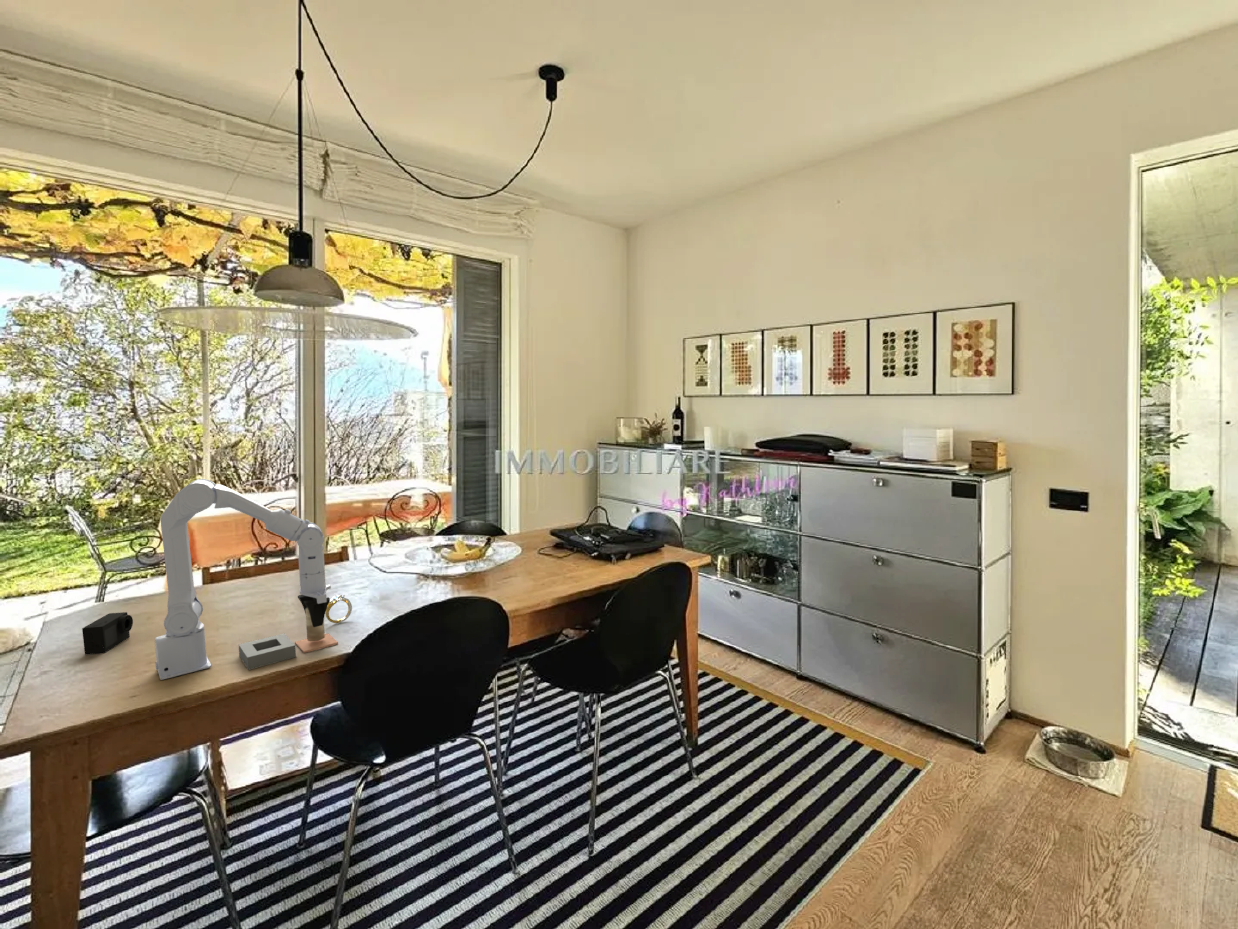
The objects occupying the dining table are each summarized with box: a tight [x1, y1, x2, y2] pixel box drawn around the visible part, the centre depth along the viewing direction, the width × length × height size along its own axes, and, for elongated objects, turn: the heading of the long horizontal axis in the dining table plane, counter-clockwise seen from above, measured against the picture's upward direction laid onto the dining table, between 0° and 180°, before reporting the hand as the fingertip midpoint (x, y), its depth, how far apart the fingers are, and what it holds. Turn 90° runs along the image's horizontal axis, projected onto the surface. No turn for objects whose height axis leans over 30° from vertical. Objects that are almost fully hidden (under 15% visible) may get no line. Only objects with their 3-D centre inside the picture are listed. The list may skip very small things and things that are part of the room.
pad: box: [294, 632, 339, 654], centre depth 150 cm, size 8×8×1 cm
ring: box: [325, 594, 353, 625], centre depth 163 cm, size 7×3×8 cm, turn 132°
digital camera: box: [81, 611, 134, 656], centre depth 149 cm, size 10×5×7 cm, turn 12°
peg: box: [304, 608, 326, 641], centre depth 149 cm, size 4×4×8 cm
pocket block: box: [238, 632, 297, 671], centre depth 142 cm, size 10×10×3 cm
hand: (315, 623), depth 149 cm, fingers closed on peg, 4 cm apart
